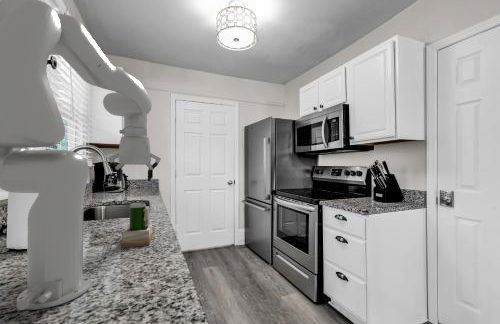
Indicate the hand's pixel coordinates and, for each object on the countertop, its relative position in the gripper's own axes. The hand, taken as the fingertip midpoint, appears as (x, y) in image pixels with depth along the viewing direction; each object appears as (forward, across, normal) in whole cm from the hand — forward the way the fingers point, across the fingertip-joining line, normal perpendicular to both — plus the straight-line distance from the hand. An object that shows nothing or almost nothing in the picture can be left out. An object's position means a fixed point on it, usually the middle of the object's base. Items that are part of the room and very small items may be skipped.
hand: (135, 180), depth 87 cm
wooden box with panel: (+22, +1, +4) cm, 23 cm away
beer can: (+21, +1, +1) cm, 21 cm away
